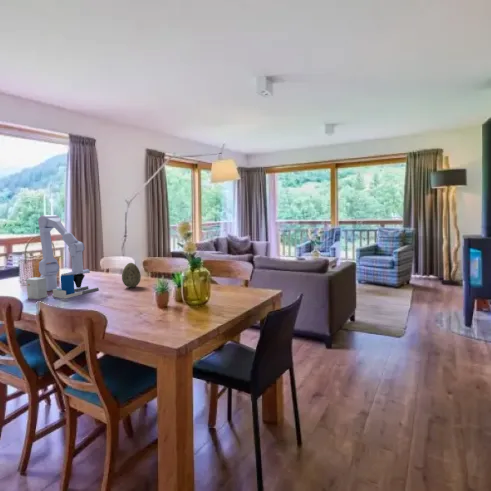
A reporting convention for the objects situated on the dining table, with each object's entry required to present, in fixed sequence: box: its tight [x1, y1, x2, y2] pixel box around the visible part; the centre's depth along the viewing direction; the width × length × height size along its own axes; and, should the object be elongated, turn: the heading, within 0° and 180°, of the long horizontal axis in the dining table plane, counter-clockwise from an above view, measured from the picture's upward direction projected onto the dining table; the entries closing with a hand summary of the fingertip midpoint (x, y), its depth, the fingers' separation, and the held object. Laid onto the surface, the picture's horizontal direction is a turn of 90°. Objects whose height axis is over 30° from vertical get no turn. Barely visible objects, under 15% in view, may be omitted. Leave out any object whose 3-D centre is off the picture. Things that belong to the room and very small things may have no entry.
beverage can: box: [60, 272, 76, 295], centre depth 201 cm, size 6×6×12 cm
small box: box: [25, 276, 48, 300], centre depth 197 cm, size 8×6×10 cm
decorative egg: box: [121, 262, 142, 289], centre depth 220 cm, size 11×11×15 cm
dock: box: [52, 285, 99, 300], centre depth 206 cm, size 10×22×5 cm, turn 152°
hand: (78, 287), depth 208 cm, fingers closed
